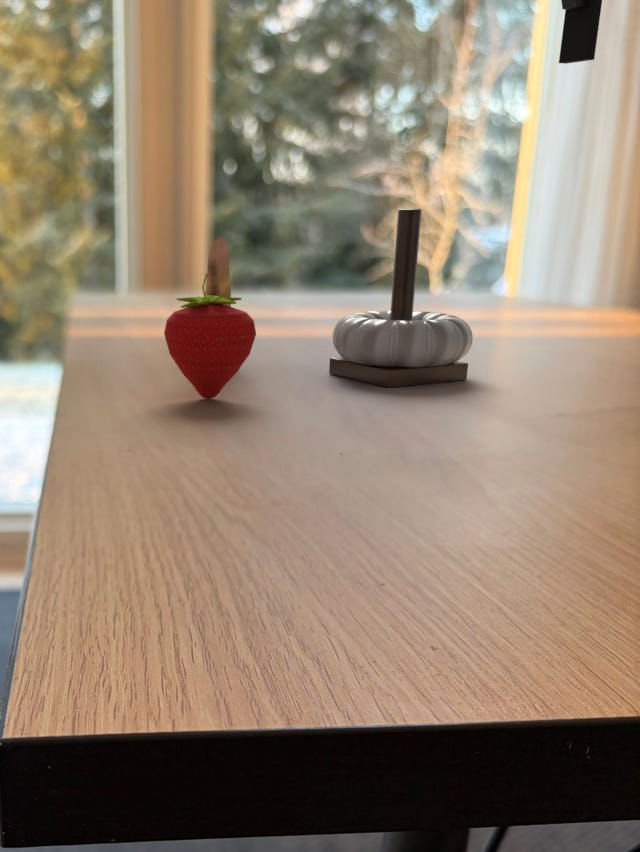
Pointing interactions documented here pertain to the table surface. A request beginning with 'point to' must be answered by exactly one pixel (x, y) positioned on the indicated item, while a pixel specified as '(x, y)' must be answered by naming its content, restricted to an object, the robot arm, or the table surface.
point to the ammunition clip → (218, 270)
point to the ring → (402, 339)
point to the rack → (401, 318)
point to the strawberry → (209, 341)
